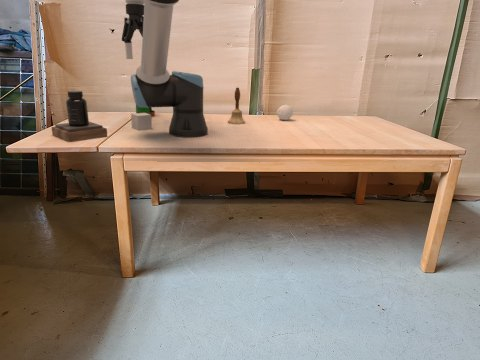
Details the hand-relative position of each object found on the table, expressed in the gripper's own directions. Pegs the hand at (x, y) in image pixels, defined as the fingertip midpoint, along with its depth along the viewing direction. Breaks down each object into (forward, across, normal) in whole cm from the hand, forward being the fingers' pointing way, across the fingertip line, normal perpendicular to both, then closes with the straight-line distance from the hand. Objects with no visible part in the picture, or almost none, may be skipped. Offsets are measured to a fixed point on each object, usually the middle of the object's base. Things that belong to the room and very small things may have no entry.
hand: (138, 59), depth 155 cm
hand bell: (+27, +25, +35) cm, 51 cm away
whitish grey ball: (+27, +35, +59) cm, 74 cm away
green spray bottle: (+27, -15, +12) cm, 33 cm away
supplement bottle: (+23, +9, -32) cm, 40 cm away
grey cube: (+27, +11, -7) cm, 30 cm away
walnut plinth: (+27, +9, -32) cm, 43 cm away
